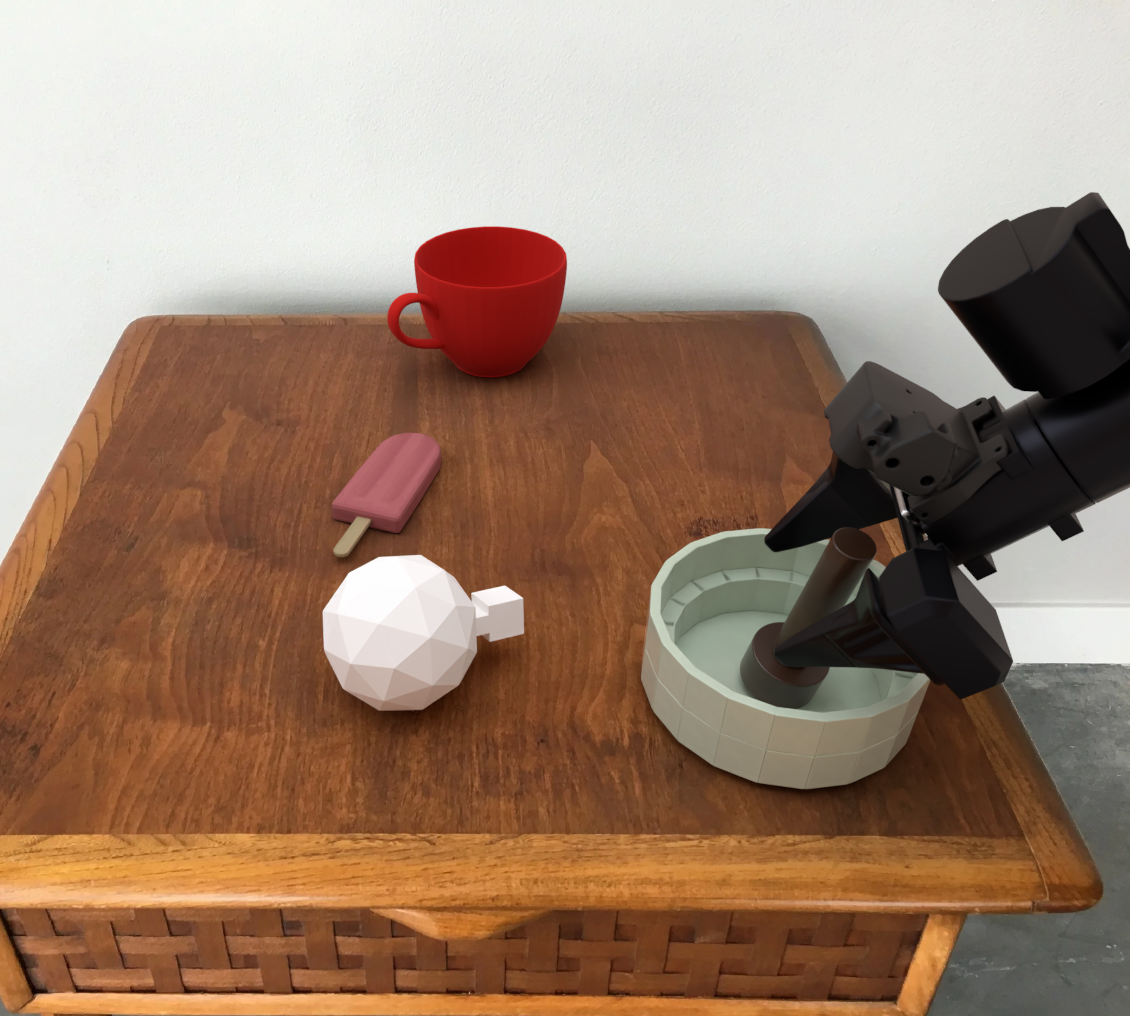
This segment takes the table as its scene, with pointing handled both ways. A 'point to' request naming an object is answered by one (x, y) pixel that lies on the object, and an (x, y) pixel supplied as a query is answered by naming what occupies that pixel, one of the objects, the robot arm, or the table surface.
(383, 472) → the popsicle
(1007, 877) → the table surface
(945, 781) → the table surface
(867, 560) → the pestle
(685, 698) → the bowl
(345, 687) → the perfume bottle
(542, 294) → the ceramic cup
